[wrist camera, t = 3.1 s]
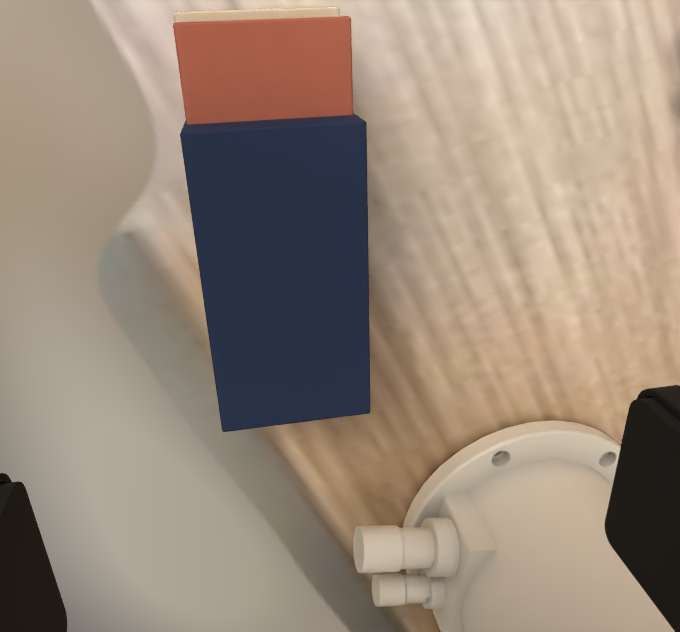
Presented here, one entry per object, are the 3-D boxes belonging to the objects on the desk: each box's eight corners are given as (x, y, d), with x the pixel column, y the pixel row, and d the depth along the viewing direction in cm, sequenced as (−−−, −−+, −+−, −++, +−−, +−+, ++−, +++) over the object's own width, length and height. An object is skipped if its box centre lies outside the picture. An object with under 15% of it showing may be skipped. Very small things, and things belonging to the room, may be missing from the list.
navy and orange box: (345, 356, 25) (371, 426, 21) (224, 370, 25) (224, 445, 20) (333, 7, 20) (364, 1, 15) (176, 13, 19) (161, 8, 15)
